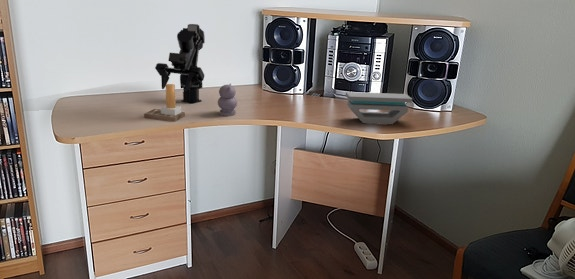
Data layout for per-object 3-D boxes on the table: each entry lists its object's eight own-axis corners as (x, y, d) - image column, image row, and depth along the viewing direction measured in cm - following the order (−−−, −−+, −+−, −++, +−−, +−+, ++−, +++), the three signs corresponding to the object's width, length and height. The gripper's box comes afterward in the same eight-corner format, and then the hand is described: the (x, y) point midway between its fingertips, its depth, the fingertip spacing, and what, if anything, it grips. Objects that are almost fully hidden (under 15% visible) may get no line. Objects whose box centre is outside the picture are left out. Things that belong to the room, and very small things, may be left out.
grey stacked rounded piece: (218, 110, 180) (218, 82, 176) (237, 111, 181) (237, 82, 177) (217, 116, 172) (216, 86, 168) (236, 117, 173) (237, 87, 169)
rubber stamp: (167, 110, 172) (166, 83, 168) (181, 112, 170) (180, 84, 166) (160, 113, 167) (159, 85, 163) (174, 115, 166) (173, 87, 162)
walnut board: (154, 112, 174) (154, 108, 173) (184, 115, 171) (184, 112, 171) (144, 117, 166) (143, 113, 166) (175, 121, 164) (175, 117, 163)
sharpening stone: (346, 123, 173) (349, 96, 169) (343, 117, 180) (345, 91, 177) (408, 125, 175) (412, 98, 171) (402, 119, 182) (406, 94, 178)
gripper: (156, 42, 169) (142, 75, 163) (201, 46, 165) (189, 80, 159) (166, 59, 179) (154, 91, 173) (209, 63, 175) (198, 96, 169)
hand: (173, 89), depth 168 cm, fingers open, 9 cm apart
